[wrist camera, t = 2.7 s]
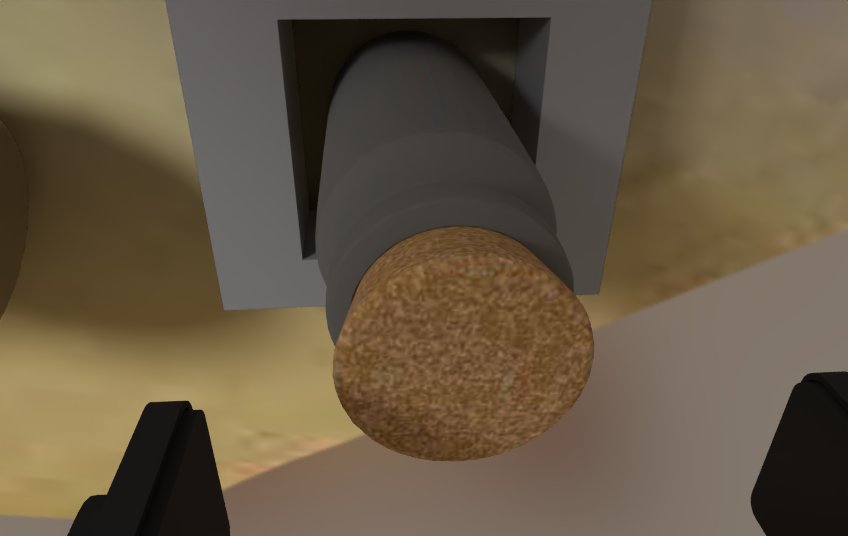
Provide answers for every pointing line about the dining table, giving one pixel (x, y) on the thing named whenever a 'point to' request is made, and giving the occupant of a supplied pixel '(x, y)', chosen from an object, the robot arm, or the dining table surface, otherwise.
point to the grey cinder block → (283, 141)
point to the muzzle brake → (11, 215)
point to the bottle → (441, 261)
